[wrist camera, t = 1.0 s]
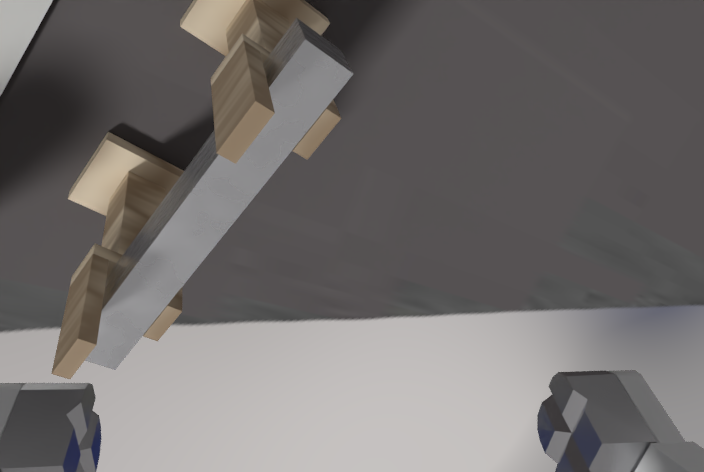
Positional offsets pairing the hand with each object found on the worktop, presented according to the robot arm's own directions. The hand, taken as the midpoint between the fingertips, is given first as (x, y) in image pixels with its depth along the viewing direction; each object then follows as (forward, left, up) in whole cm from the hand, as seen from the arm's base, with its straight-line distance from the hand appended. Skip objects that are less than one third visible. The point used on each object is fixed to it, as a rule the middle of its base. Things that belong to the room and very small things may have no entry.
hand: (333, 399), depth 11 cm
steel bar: (+5, -12, -25) cm, 28 cm away
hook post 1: (+5, -20, -37) cm, 42 cm away
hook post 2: (+5, -4, -37) cm, 37 cm away
